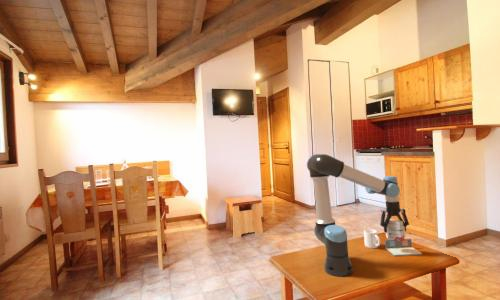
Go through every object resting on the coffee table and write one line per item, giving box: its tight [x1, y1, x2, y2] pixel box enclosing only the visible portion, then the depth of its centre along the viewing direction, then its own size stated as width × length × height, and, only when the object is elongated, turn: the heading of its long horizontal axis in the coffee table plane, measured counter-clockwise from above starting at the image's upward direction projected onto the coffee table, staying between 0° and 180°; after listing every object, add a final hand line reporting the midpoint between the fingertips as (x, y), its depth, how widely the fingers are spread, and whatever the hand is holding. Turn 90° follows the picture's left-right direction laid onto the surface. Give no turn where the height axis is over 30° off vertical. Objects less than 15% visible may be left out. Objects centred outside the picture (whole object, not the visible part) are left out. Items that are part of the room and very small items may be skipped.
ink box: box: [386, 218, 405, 242], centre depth 163 cm, size 8×5×12 cm, turn 39°
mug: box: [363, 228, 381, 249], centre depth 174 cm, size 12×8×10 cm
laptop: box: [384, 238, 423, 257], centre depth 163 cm, size 16×12×6 cm
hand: (395, 237), depth 163 cm, fingers closed on ink box, 9 cm apart
